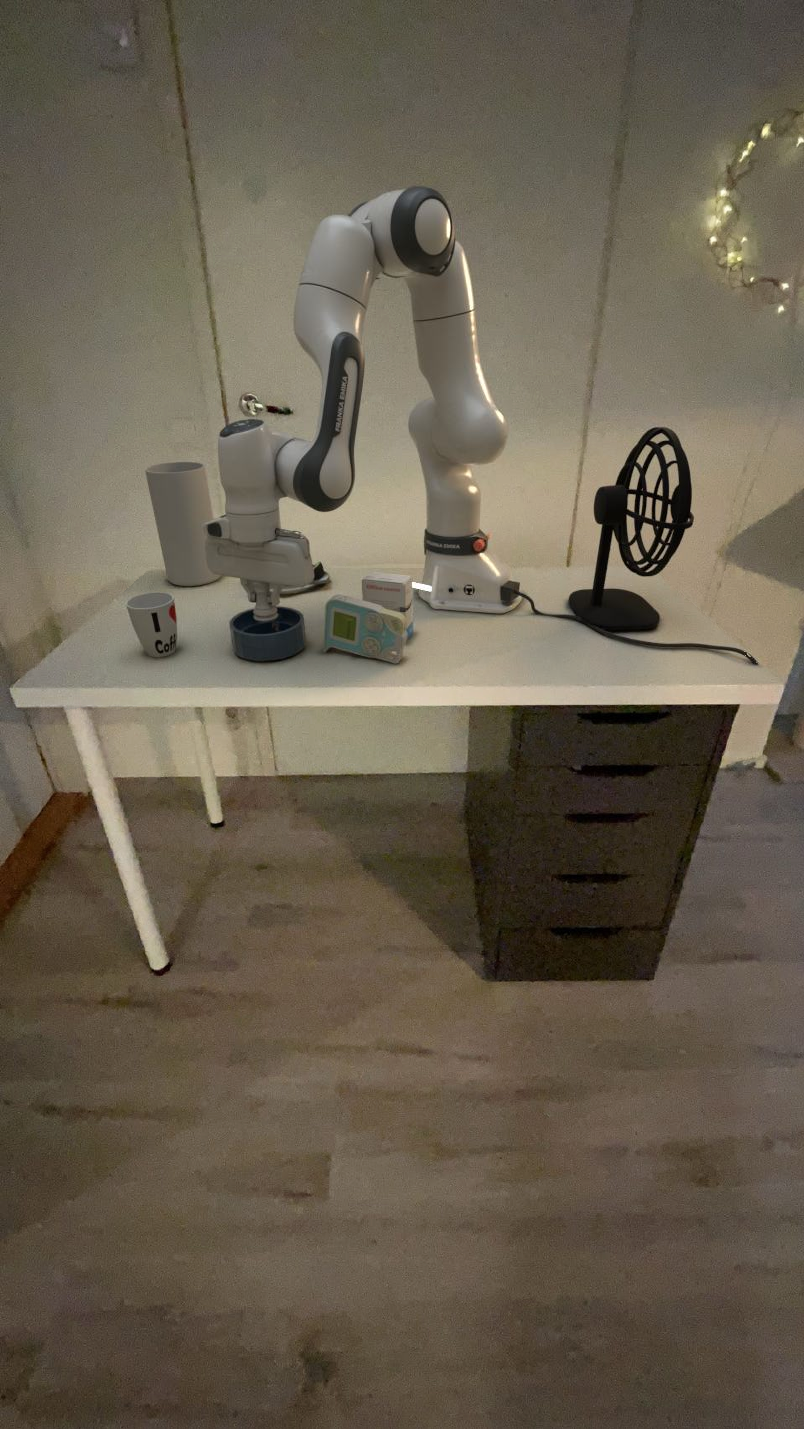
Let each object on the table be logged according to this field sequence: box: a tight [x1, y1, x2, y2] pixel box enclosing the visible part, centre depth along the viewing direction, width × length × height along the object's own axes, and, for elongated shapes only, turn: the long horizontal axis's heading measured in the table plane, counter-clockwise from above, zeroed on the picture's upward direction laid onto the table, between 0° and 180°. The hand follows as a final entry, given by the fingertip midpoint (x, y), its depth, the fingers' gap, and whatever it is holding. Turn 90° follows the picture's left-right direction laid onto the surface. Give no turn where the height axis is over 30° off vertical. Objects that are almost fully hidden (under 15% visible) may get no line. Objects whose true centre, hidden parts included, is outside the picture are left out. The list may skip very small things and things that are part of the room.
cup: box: [125, 591, 178, 658], centre depth 118 cm, size 8×8×10 cm
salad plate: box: [253, 561, 332, 595], centre depth 149 cm, size 19×18×5 cm
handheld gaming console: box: [322, 594, 408, 664], centre depth 116 cm, size 11×3×15 cm
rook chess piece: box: [252, 580, 278, 622], centre depth 117 cm, size 4×4×8 cm
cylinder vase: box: [144, 461, 222, 587], centre depth 148 cm, size 12×12×25 cm
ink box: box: [361, 571, 414, 641], centre depth 123 cm, size 8×5×12 cm, turn 71°
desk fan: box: [568, 426, 695, 631], centre depth 124 cm, size 27×18×35 cm, turn 3°
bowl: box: [228, 605, 307, 662], centre depth 120 cm, size 13×13×6 cm
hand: (264, 603), depth 117 cm, fingers closed on rook chess piece, 3 cm apart
